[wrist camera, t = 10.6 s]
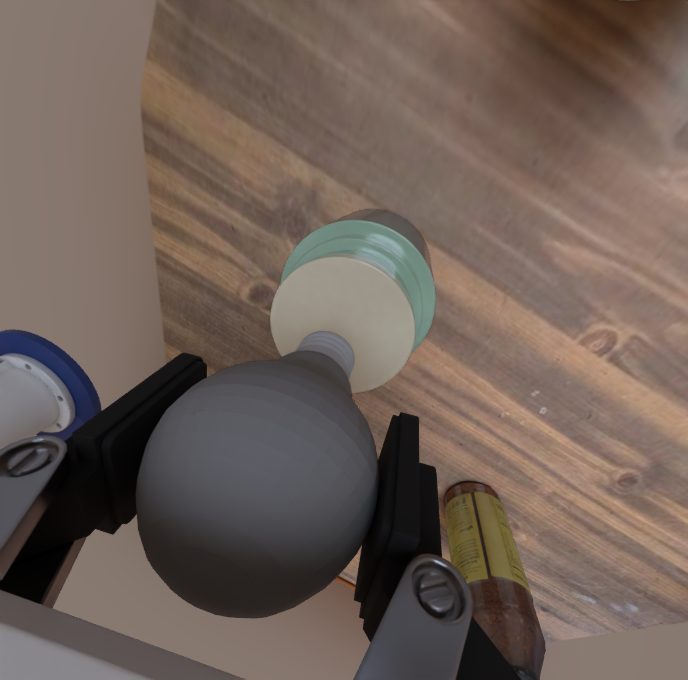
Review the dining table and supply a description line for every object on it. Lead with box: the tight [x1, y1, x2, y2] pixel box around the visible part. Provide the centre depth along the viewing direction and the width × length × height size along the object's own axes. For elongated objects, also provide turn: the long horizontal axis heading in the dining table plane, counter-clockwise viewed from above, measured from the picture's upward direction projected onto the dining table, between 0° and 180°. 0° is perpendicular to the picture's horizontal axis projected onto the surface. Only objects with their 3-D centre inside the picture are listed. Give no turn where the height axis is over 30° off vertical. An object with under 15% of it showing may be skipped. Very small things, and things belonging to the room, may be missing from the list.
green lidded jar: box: [270, 209, 436, 393], centre depth 23 cm, size 10×10×14 cm
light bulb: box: [136, 331, 379, 618], centre depth 11 cm, size 6×6×10 cm
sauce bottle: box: [445, 482, 546, 680], centre depth 29 cm, size 6×6×20 cm
